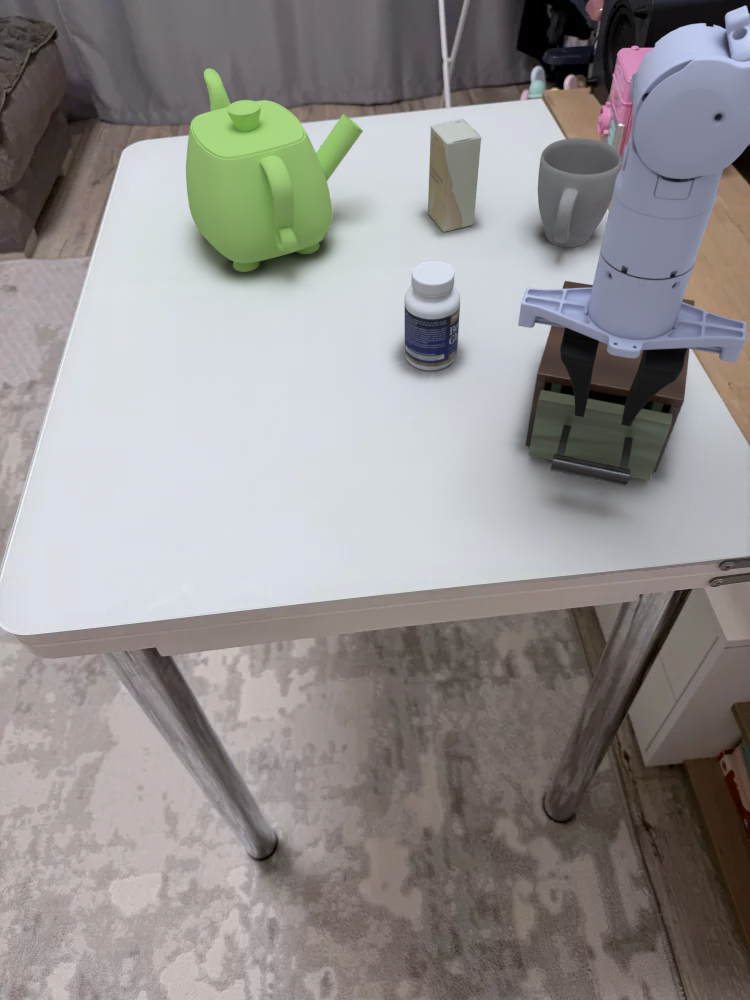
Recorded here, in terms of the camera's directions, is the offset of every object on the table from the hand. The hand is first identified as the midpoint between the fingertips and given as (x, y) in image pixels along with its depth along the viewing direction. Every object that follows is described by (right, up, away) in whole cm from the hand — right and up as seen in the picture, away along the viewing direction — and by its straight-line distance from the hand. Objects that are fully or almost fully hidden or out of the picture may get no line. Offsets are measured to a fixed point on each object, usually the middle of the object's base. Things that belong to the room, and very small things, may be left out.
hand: (603, 412), depth 57 cm
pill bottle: (-12, +8, +20) cm, 24 cm away
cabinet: (+4, +2, +14) cm, 14 cm away
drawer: (+2, -1, +10) cm, 10 cm away
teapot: (-29, +27, +36) cm, 54 cm away
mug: (+5, +24, +32) cm, 40 cm away
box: (-8, +28, +36) cm, 47 cm away
